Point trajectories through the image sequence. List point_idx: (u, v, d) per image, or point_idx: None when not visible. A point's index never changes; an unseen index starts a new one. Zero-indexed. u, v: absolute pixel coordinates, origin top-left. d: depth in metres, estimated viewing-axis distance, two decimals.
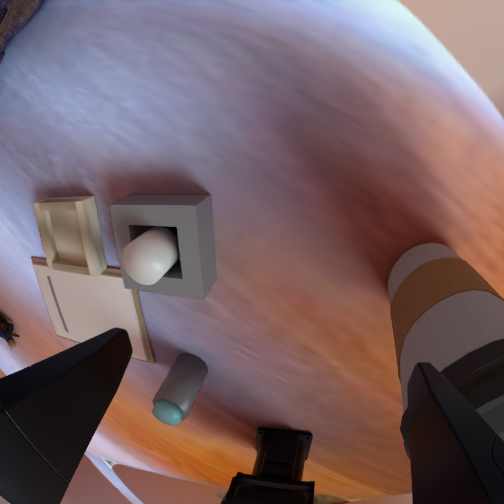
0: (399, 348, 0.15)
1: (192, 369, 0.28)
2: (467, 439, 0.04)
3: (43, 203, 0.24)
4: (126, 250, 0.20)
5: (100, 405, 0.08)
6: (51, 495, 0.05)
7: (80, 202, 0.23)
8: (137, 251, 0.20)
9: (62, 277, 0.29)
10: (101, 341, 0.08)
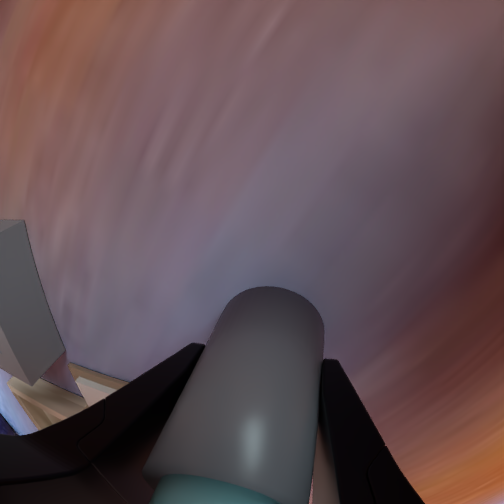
0: None
1: None
2: (342, 446, 0.05)
3: (39, 429, 0.17)
4: None
5: None
6: None
7: (8, 385, 0.15)
8: None
9: None
10: (184, 361, 0.08)
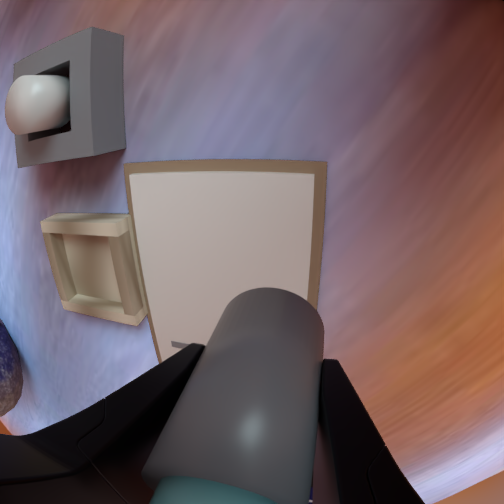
0: None
1: (208, 341, 0.08)
2: (342, 446, 0.05)
3: (58, 290, 0.20)
4: (11, 127, 0.12)
5: None
6: None
7: (41, 223, 0.18)
8: (11, 111, 0.11)
9: (163, 313, 0.20)
10: (183, 361, 0.08)
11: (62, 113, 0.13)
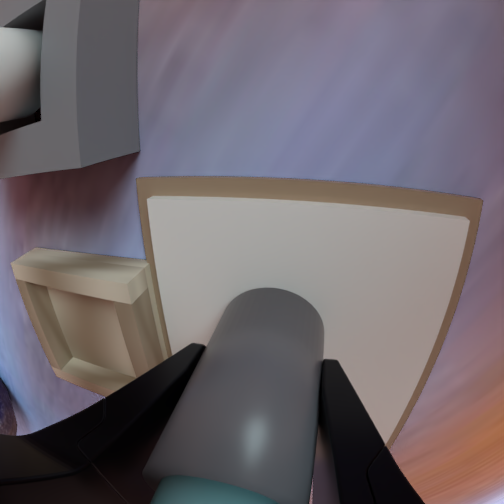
0: None
1: None
2: (342, 446, 0.05)
3: (47, 355, 0.13)
4: None
5: None
6: None
7: (12, 266, 0.11)
8: None
9: None
10: (184, 360, 0.08)
11: (28, 90, 0.06)
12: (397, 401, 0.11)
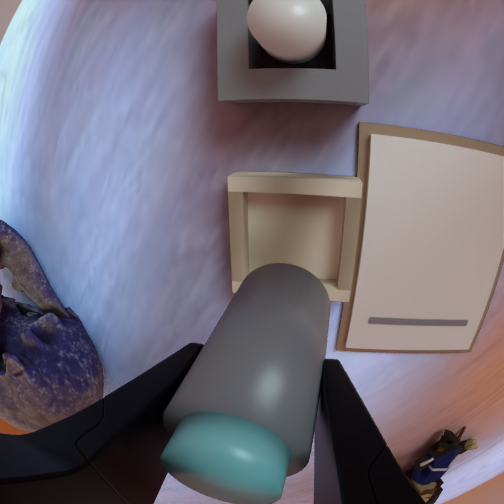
0: None
1: (229, 304, 0.10)
2: (344, 446, 0.05)
3: (232, 268, 0.19)
4: (264, 39, 0.10)
5: None
6: None
7: (229, 180, 0.16)
8: (263, 20, 0.10)
9: (372, 286, 0.18)
10: (183, 360, 0.08)
11: (320, 47, 0.12)
12: (490, 276, 0.16)
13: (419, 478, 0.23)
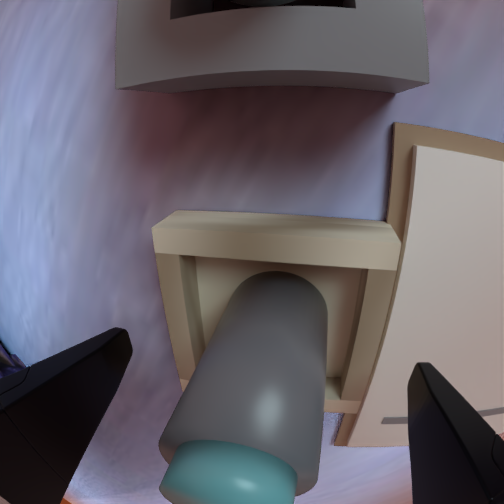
0: None
1: (222, 317, 0.09)
2: (467, 439, 0.04)
3: (178, 364, 0.11)
4: None
5: (100, 405, 0.08)
6: (51, 495, 0.05)
7: (154, 233, 0.09)
8: None
9: (394, 384, 0.11)
10: (101, 341, 0.08)
11: None
12: None
13: None
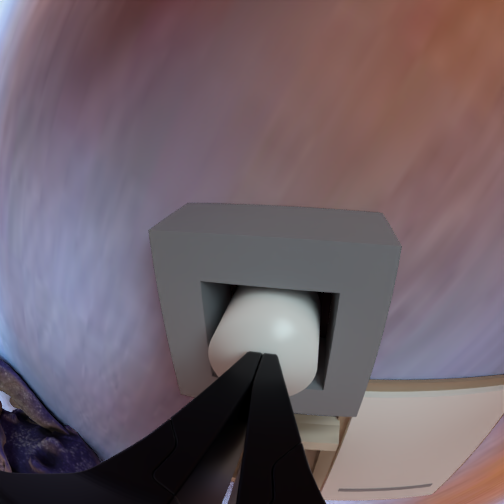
0: None
1: None
2: (255, 438, 0.05)
3: None
4: None
5: (241, 444, 0.07)
6: None
7: None
8: (231, 363, 0.09)
9: (343, 476, 0.16)
10: (246, 371, 0.07)
11: None
12: (459, 461, 0.14)
13: None
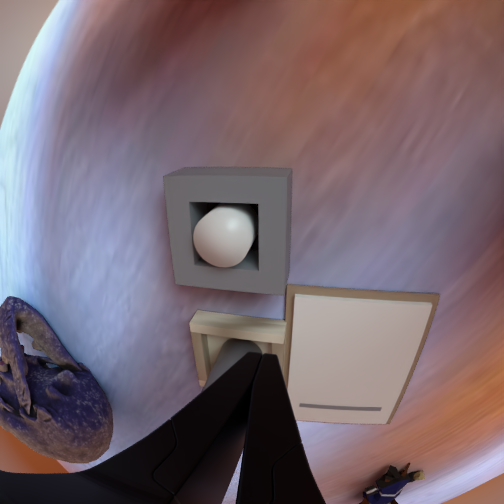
0: None
1: (218, 357, 0.23)
2: (255, 438, 0.05)
3: (198, 373, 0.25)
4: (206, 257, 0.18)
5: (241, 444, 0.07)
6: None
7: (190, 325, 0.23)
8: (205, 242, 0.18)
9: (299, 386, 0.25)
10: (246, 371, 0.07)
11: (251, 243, 0.19)
12: (399, 382, 0.23)
13: (373, 500, 0.29)
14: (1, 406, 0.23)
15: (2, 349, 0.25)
